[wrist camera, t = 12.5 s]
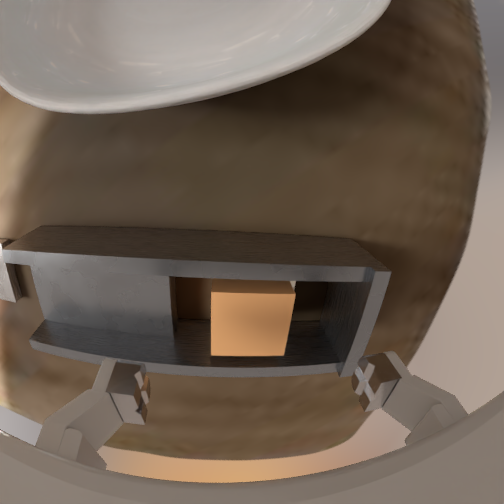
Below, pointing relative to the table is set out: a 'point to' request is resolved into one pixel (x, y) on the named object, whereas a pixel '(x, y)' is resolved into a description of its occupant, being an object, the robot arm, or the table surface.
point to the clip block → (250, 317)
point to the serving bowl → (164, 48)
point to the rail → (165, 305)
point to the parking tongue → (8, 278)
